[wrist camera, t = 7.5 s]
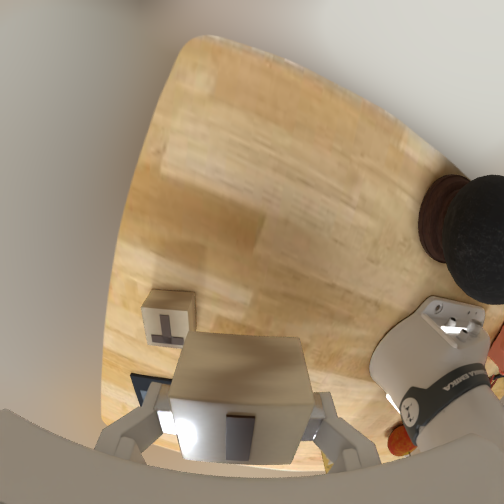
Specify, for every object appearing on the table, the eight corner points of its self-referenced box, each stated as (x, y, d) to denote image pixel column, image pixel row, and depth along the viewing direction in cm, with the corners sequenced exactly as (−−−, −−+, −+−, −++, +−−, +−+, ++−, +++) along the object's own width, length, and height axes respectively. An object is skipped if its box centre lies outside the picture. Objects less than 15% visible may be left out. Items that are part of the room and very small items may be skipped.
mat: (240, 384, 35) (240, 387, 35) (238, 429, 39) (238, 432, 39) (130, 373, 35) (129, 375, 34) (146, 419, 39) (145, 421, 38)
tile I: (300, 336, 12) (316, 406, 8) (284, 405, 14) (291, 466, 10) (187, 329, 12) (165, 397, 8) (193, 400, 13) (182, 461, 10)
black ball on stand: (462, 276, 30) (530, 331, 16) (396, 256, 29) (477, 325, 15) (491, 188, 26) (572, 217, 12) (429, 148, 25) (531, 161, 11)
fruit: (384, 427, 41) (396, 457, 34) (415, 414, 41) (429, 442, 33) (382, 441, 44) (392, 469, 36) (410, 429, 43) (422, 455, 36)
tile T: (194, 292, 30) (187, 311, 26) (196, 328, 32) (190, 350, 28) (152, 288, 30) (140, 307, 26) (156, 325, 32) (147, 345, 28)
